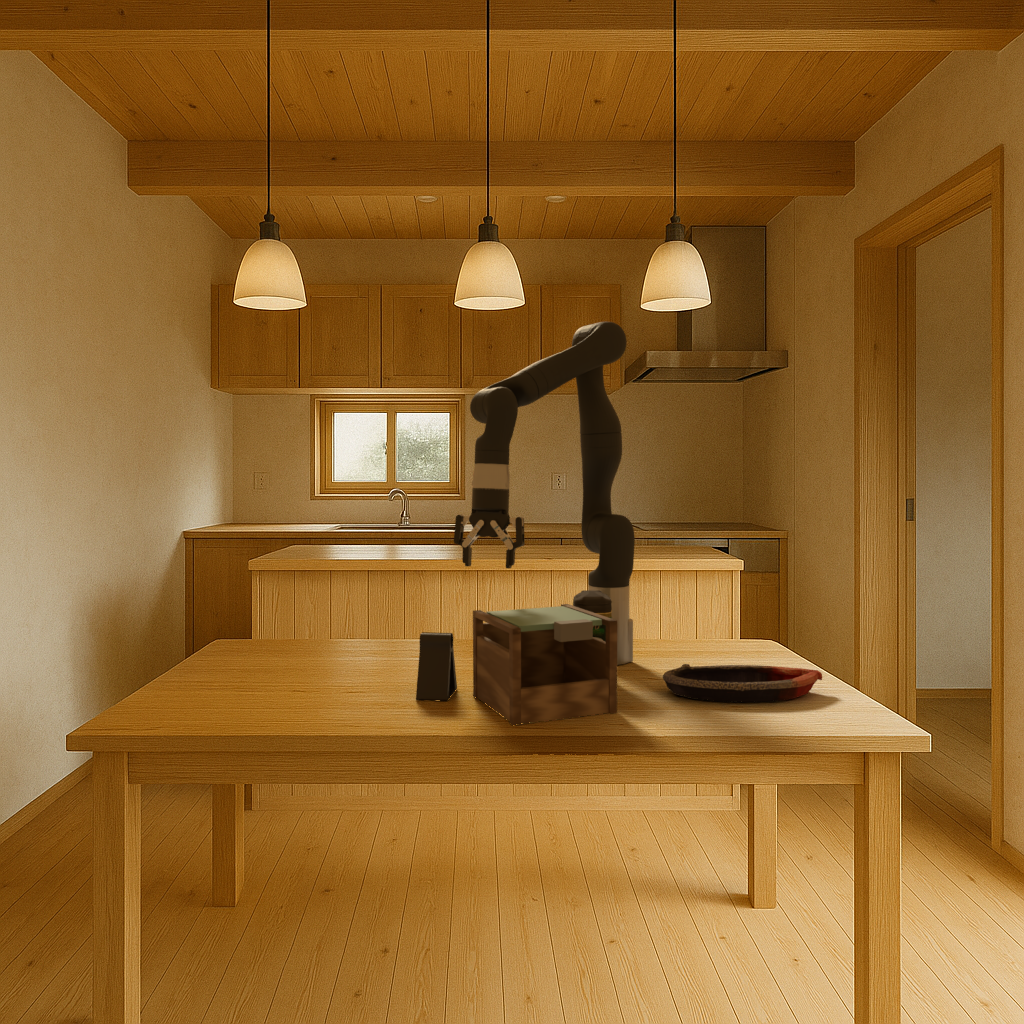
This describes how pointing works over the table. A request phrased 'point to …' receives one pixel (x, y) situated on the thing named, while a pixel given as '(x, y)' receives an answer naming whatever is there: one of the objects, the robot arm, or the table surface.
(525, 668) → the wooden crate
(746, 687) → the dish
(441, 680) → the phone stand
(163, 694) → the table surface
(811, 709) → the table surface
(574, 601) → the coffee jar
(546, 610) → the trapdoor
